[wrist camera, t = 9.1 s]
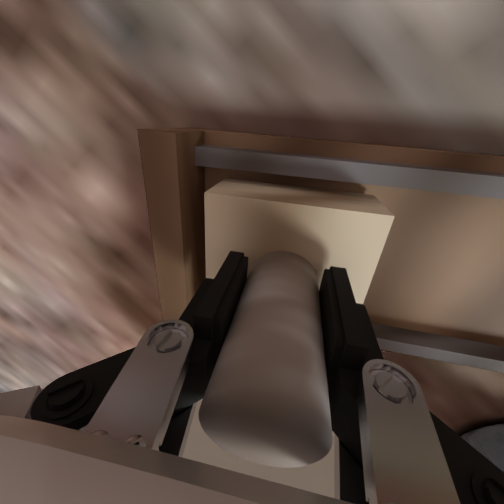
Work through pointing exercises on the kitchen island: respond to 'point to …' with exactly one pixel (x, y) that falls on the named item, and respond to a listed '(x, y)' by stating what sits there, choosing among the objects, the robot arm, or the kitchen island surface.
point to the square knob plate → (282, 312)
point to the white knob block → (304, 477)
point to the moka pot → (488, 443)
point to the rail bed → (397, 243)
